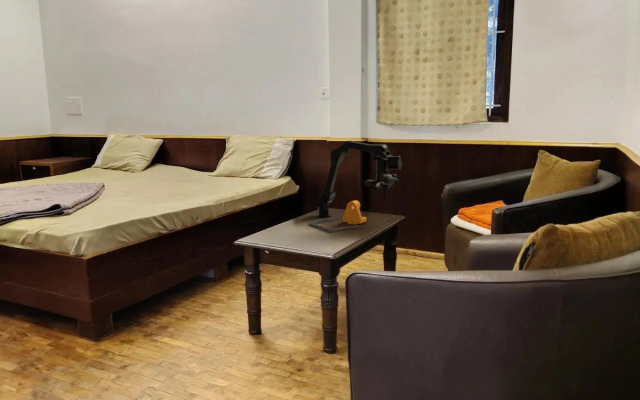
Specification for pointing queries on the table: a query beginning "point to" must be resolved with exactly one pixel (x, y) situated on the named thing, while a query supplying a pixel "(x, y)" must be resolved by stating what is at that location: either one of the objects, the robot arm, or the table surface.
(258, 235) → the table surface
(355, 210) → the bracket
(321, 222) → the rail bay
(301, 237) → the table surface
